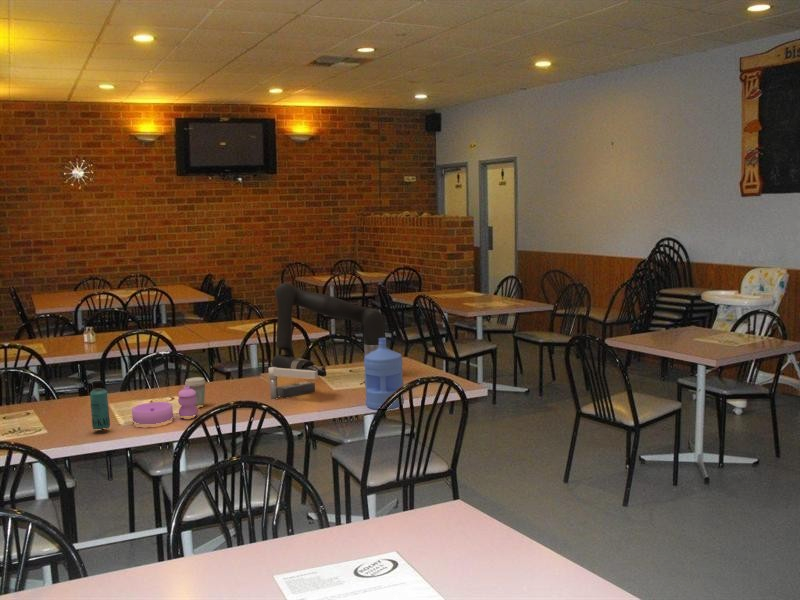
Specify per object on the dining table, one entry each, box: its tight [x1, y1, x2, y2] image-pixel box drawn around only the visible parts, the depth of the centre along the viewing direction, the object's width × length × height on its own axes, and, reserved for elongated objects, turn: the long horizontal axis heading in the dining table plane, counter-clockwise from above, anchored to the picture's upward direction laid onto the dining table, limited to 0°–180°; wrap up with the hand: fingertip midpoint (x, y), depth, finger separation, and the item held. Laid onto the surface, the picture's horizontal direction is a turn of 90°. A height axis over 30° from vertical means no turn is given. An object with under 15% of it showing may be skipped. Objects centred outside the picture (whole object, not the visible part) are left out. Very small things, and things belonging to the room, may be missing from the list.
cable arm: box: [268, 366, 319, 380], centre depth 336 cm, size 24×4×4 cm, turn 64°
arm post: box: [269, 377, 279, 400], centre depth 342 cm, size 3×3×9 cm
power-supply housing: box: [277, 380, 316, 399], centre depth 349 cm, size 16×6×4 cm, turn 129°
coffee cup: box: [184, 376, 207, 406], centre depth 333 cm, size 8×8×12 cm
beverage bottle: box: [89, 379, 111, 429], centre depth 301 cm, size 6×7×20 cm
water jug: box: [363, 337, 405, 411], centre depth 323 cm, size 16×16×28 cm
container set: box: [131, 385, 199, 424], centre depth 313 cm, size 25×15×13 cm, turn 110°
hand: (324, 373), depth 333 cm, fingers closed
